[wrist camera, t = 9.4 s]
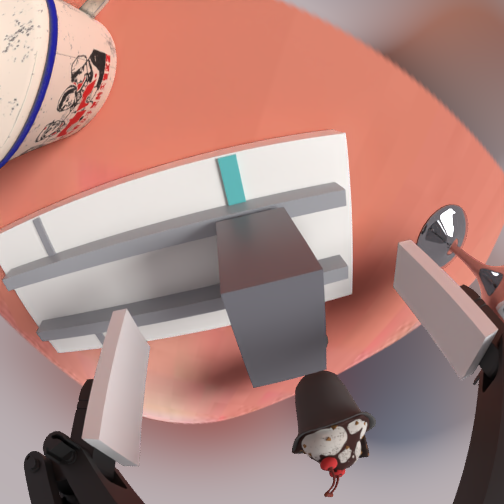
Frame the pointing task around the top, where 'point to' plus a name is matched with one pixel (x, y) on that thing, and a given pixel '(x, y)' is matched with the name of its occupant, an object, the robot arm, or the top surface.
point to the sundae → (330, 424)
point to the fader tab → (272, 296)
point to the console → (174, 238)
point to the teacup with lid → (50, 71)
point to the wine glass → (461, 253)
